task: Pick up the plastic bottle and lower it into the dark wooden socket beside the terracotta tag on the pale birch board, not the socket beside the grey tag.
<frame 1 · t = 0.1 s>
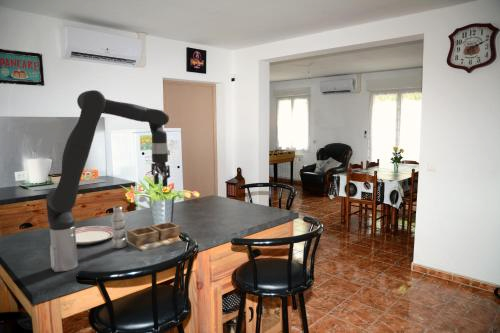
hand: (160, 185, 174), 29 cm above the kitchen island, tool pointing down, fingers open, 8 cm apart
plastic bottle: (119, 248, 171), on the kitchen island
socket board: (156, 240, 181), on the kitchen island
dinner plate: (89, 239, 185), on the kitchen island
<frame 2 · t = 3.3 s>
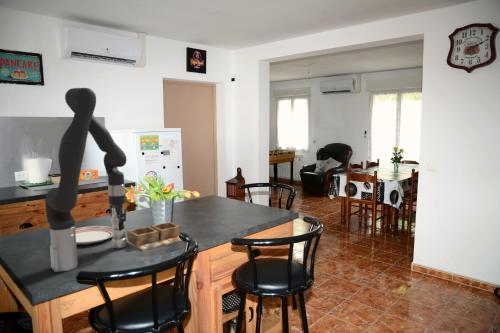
hand: (118, 228, 170), 10 cm above the kitchen island, tool pointing down, fingers closed on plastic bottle, 6 cm apart
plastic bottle: (119, 248, 171), on the kitchen island, touching gripper
everything else where it was.
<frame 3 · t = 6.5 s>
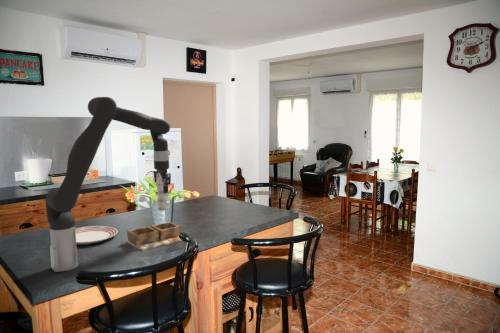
hand: (162, 191, 183), 24 cm above the kitchen island, tool pointing down, fingers closed on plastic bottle, 6 cm apart
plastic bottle: (163, 210, 184), point 14 cm above the kitchen island, touching gripper
everything else where it was.
when the fingers open (12 cm above the kitchen island, at t = 9.7 s): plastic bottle drops 1 cm, resting on socket board.
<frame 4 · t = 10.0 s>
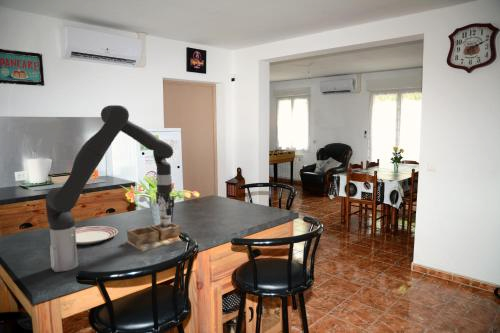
hand: (165, 213, 185), 13 cm above the kitchen island, tool pointing down, fingers open, 8 cm apart
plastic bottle: (165, 235, 186), point 1 cm above the kitchen island, touching socket board
everything else where it was.
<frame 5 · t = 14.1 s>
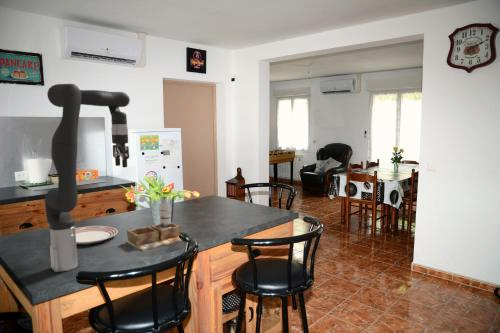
hand: (121, 166, 176), 38 cm above the kitchen island, tool pointing down, fingers open, 8 cm apart
nothing on the kitchen island moved.
at the end: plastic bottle 0.1 cm from the target spot on the socket board, point 0.8 cm above the socket board's base; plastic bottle tilted 0°; the gripper is holding nothing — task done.
